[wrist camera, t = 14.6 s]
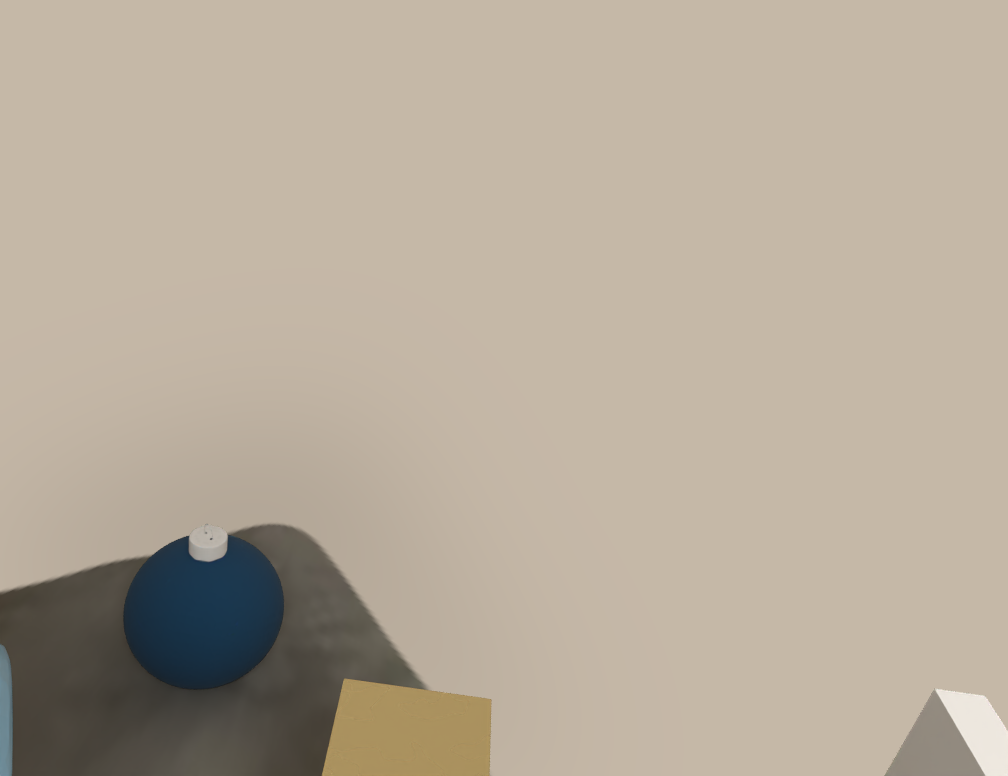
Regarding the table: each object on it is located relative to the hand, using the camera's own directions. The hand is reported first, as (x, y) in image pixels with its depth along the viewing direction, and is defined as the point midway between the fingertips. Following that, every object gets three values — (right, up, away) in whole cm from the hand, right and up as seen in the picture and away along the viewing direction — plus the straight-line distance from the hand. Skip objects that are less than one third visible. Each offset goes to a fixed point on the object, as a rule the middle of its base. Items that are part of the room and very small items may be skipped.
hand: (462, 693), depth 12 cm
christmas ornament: (-17, -12, +37) cm, 43 cm away
